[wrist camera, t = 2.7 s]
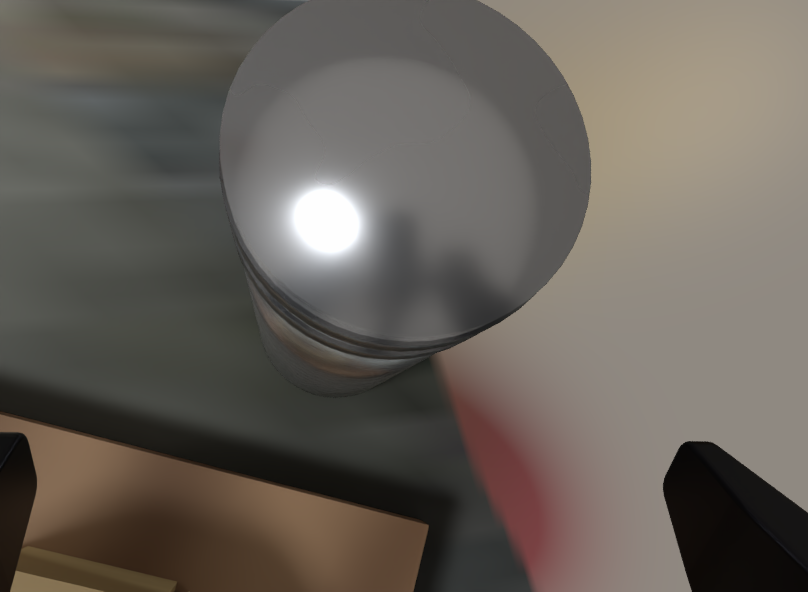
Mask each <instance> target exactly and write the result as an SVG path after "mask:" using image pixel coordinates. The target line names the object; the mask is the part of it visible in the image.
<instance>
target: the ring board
mask: <svg viewBox="0 0 808 592" xmlns="http://www.w3.org/2000/svg"><path fill="white" fill-rule="evenodd" d="M0 432H20V433H23V434H24V435H25V436H26V437H27V439H28V441H29V446H30V450H31V454H32V458H33V462H34V466H35V470H36V474H37V491H36V496H35V500H34V504H33V507H32V511H31V515H30V519H29V523H28V526H27V530H26V534H25V538H24V541H23V545H22V549H21V553H20V557H19V560H18V564H17V568H16V572H15V576H14V579H13V583H12V587H11V591H10V592H413V591H414V587H415V582H416V578H417V574H418V570H419V566H420V561H421V557H422V553H423V549H424V545H425V540H426V536H427V532H428V528H429V525H428V524H426V523H425V522H423V521H421V520H419V519H415V518H411V517H407V516H403V515H399V514H395V513H391V512H388V511H384V510H380V509H376V508H372V507H368V506H364V505H361V504H357V503H353V502H349V501H345V500H341V499H337V498H334V497H330V496H326V495H322V494H318V493H314V492H310V491H307V490H303V489H299V488H295V487H291V486H287V485H283V484H279V483H276V482H272V481H268V480H264V479H260V478H256V477H252V476H249V475H245V474H241V473H237V472H233V471H229V470H225V469H222V468H218V467H214V466H210V465H206V464H202V463H198V462H195V461H191V460H187V459H183V458H179V457H175V456H171V455H168V454H164V453H160V452H156V451H152V450H148V449H144V448H140V447H137V446H133V445H129V444H125V443H121V442H117V441H113V440H110V439H106V438H102V437H98V436H94V435H90V434H86V433H83V432H79V431H75V430H71V429H67V428H63V427H59V426H56V425H52V424H48V423H44V422H40V421H36V420H32V419H28V418H25V417H21V416H17V415H13V414H9V413H5V412H1V411H0Z"/></svg>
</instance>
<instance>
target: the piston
mask: <svg viewBox="0 0 808 592" xmlns="http://www.w3.org/2000/svg"><path fill="white" fill-rule="evenodd" d="M219 160H220V181H221V187H222V193H223V199H224V204H225V208H226V211H227V215H228V219H229V222H230V227H231V231H232V235H233V238H234V241H235V245H236V248H237V251H238V254H239V257H240V260H241V262H242V264H243V266H244V269H245V273H246V277H247V281H248V285H249V290H250V294H251V298H252V302H253V306H254V310H255V314H256V319H257V323H258V327H259V331H260V335H261V339H262V343H263V346H264V349H265V351H266V353H267V356H268V358H269V359H270V361H271V363H272V364H273V366H274V367H275V368H276V370H277V371H278V372H279V373H280V374H281V375H282V376H283V377H284V378H285V379H286V380H287V381H289V382H290V383H292V384H293V385H294V386H296V387H298V388H300V389H302V390H304V391H306V392H308V393H311V394H314V395H318V396H323V397H333V398H338V397H348V396H353V395H357V394H360V393H363V392H365V391H367V390H369V389H372V388H374V387H375V386H377V385H379V384H381V383H383V382H384V381H386V380H388V379H390V378H392V377H393V376H395V375H397V374H399V373H401V372H403V371H404V370H406V369H408V368H410V367H412V366H413V365H415V364H417V363H419V362H421V361H422V360H424V359H426V358H428V357H430V356H432V355H433V354H435V353H437V352H440V351H443V350H446V349H449V348H451V347H453V346H455V345H457V344H459V343H461V342H464V341H466V340H467V339H469V338H471V337H473V336H475V335H477V334H478V333H480V332H482V331H484V330H486V329H488V328H490V327H492V326H494V325H495V324H498V323H500V322H501V321H503V320H504V319H505V318H507V317H508V316H510V315H511V314H513V313H514V312H516V311H517V310H519V309H520V308H521V307H522V306H523V305H524V304H525V303H526V302H527V301H528V300H530V299H531V298H532V297H533V296H534V295H535V294H536V293H537V292H538V291H539V290H540V289H541V288H542V287H543V286H544V285H546V284H547V282H548V281H549V280H550V279H551V278H552V276H553V275H554V274H555V273H556V272H557V270H558V269H559V268H560V267H561V265H562V264H563V262H564V261H565V259H566V257H567V256H568V254H569V253H570V251H571V249H572V248H573V246H574V243H575V241H576V239H577V236H578V234H579V232H580V229H581V227H582V224H583V220H584V217H585V213H586V210H587V206H588V200H589V192H590V185H591V159H590V150H589V143H588V137H587V133H586V130H585V125H584V122H583V118H582V115H581V113H580V110H579V107H578V105H577V103H576V100H575V98H574V95H573V93H572V92H571V90H570V88H569V86H568V84H567V82H566V81H565V79H564V77H563V75H562V74H561V73H560V71H559V70H558V68H557V67H556V66H555V64H554V63H553V61H552V60H551V58H550V57H549V56H548V55H547V54H546V53H545V52H544V51H543V49H542V48H541V47H540V46H539V45H538V44H537V43H536V42H535V40H533V39H532V38H531V37H530V36H529V35H528V34H526V32H524V31H523V30H522V29H521V28H520V27H519V26H518V25H516V24H515V23H513V22H512V21H510V20H509V19H508V18H506V17H505V16H503V15H502V14H501V13H499V12H497V11H496V10H494V9H492V8H490V7H488V6H487V5H485V4H483V3H481V2H479V1H477V0H310V1H308V2H306V3H303V4H302V5H300V6H298V7H297V8H295V9H294V10H292V11H291V12H289V13H288V14H286V15H285V16H283V17H282V18H281V19H280V20H279V21H278V22H276V23H275V24H274V25H273V26H272V27H271V28H270V29H269V30H267V31H266V32H265V33H264V35H263V36H262V37H261V38H260V39H259V40H258V42H257V43H256V44H255V45H254V46H253V47H252V49H251V50H250V51H249V53H248V55H247V56H246V58H245V59H244V61H243V63H242V64H241V66H240V67H239V69H238V71H237V73H236V76H235V78H234V80H233V82H232V85H231V87H230V89H229V92H228V96H227V100H226V103H225V107H224V110H223V115H222V123H221V131H220V152H219Z"/></svg>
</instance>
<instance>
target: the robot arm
mask: <svg viewBox="0 0 808 592" xmlns="http://www.w3.org/2000/svg"><path fill="white" fill-rule="evenodd" d="M36 491H37V474H36V470H35V466H34V462H33V458H32V454H31V450H30V446H29V441H28V439H27V437H26V436H25V435H24V434H23V433H20V432H0V592H10V591H11V587H12V583H13V579H14V576H15V572H16V568H17V564H18V560H19V557H20V553H21V549H22V545H23V541H24V538H25V534H26V530H27V526H28V523H29V519H30V515H31V511H32V507H33V504H34V500H35V496H36ZM663 492H664V497H665V501H666V504H667V508H668V511H669V515H670V518H671V522H672V525H673V528H674V532H675V535H676V539H677V543H678V546H679V549H680V553H681V557H682V560H683V564H684V567H685V571H686V574H687V577H688V581H689V584H690V587H691V590H692V592H808V513H807V512H806V511H805V510H803V509H802V508H801V507H799V506H798V505H797V504H795V503H794V502H793V501H791V500H790V499H789V498H787V497H786V496H784V495H783V494H782V493H780V492H779V491H778V490H776V489H775V488H774V487H772V486H771V485H770V484H768V483H767V482H766V481H764V480H763V479H762V478H760V477H759V476H758V475H756V474H755V473H754V472H752V471H751V470H750V469H748V468H747V467H746V466H744V465H743V464H741V463H740V462H739V461H737V460H736V459H735V458H733V457H732V456H731V455H729V454H728V453H727V452H725V451H724V450H723V449H721V448H720V447H719V446H717V445H715V444H714V443H711V442H698V441H696V442H695V441H694V442H693V441H692V442H691V441H688V442H685V443H683V445H681V446H680V448H679V449H678V452H677V453H676V455H675V457H674V460H673V462H672V464H671V466H670V468H669V470H668V472H667V474H666V476H665V478H664V483H663Z"/></svg>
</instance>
